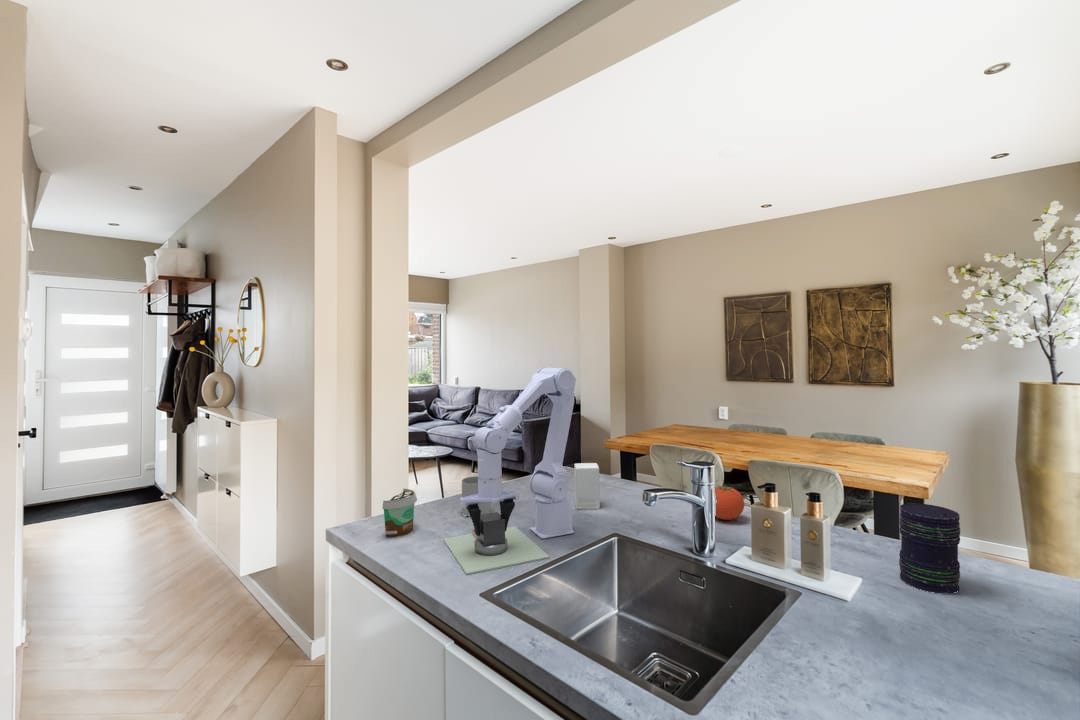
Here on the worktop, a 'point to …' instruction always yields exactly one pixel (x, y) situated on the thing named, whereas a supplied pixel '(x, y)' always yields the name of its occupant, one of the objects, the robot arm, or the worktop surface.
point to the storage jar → (929, 547)
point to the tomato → (728, 503)
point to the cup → (471, 489)
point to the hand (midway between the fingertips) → (490, 532)
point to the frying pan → (489, 548)
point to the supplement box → (587, 486)
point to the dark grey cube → (491, 529)
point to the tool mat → (516, 554)
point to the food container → (399, 513)
